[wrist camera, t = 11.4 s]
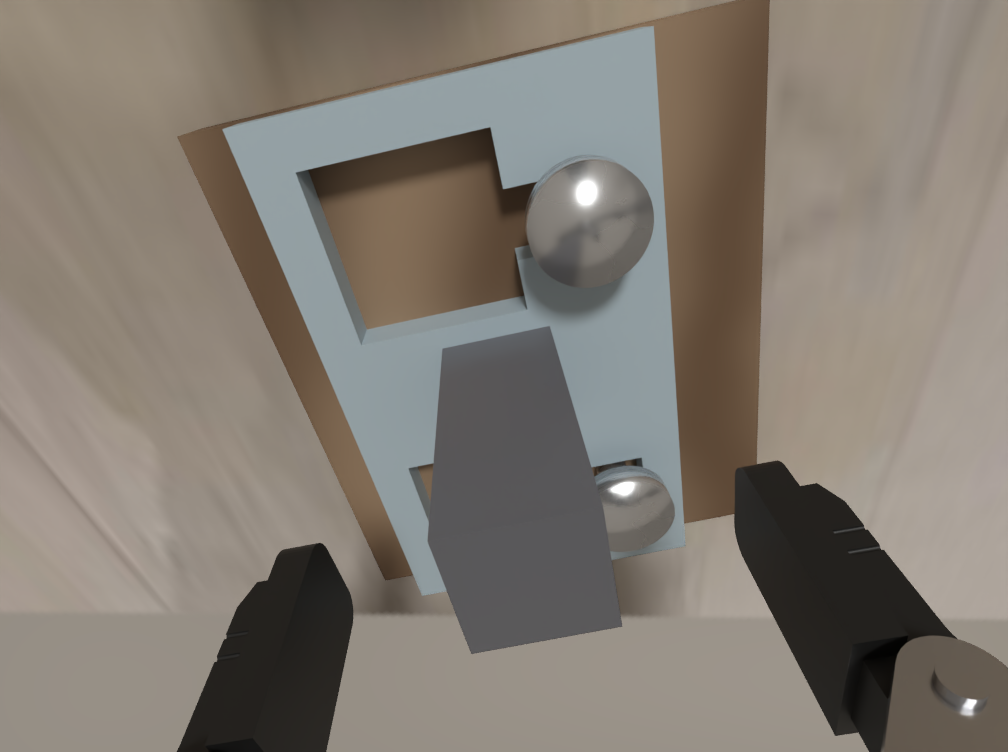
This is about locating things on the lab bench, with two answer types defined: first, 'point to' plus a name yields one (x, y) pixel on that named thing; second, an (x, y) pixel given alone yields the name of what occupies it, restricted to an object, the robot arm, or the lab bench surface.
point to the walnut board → (479, 225)
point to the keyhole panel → (584, 316)
